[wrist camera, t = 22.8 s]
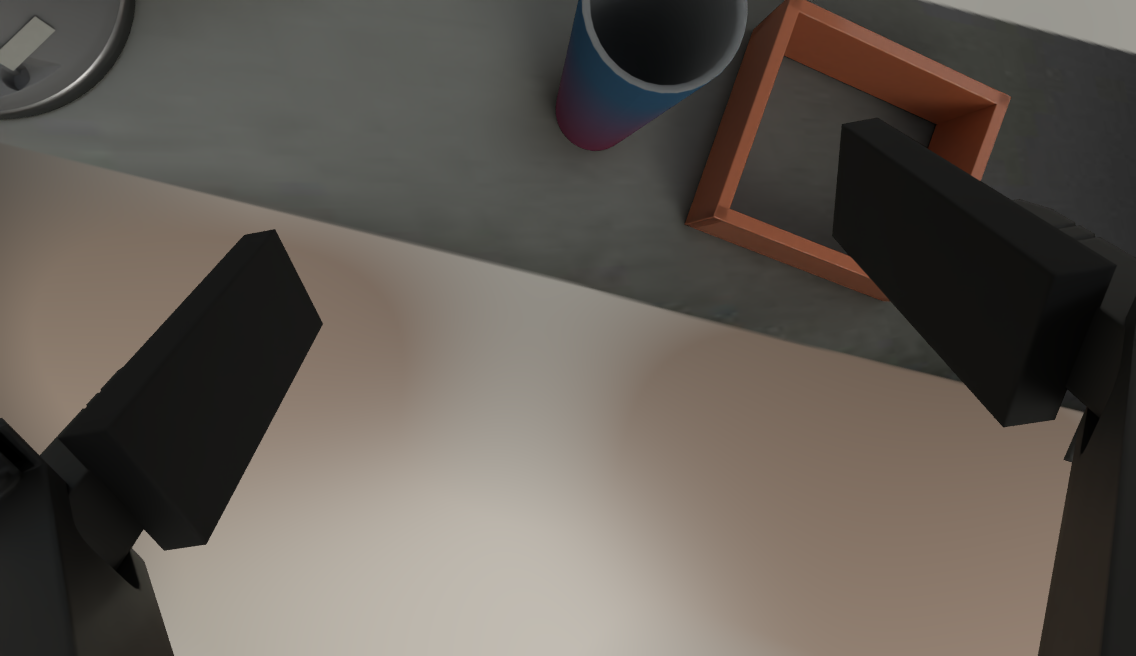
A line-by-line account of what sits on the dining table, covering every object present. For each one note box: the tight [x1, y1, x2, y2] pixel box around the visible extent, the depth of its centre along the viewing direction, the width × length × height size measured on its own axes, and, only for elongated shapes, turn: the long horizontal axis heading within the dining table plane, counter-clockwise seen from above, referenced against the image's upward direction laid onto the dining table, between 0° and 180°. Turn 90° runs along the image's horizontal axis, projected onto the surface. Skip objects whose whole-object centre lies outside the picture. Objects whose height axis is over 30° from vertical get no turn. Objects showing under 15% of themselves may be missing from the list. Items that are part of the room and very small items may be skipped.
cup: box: [556, 0, 748, 151], centre depth 31 cm, size 7×7×15 cm
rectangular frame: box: [685, 0, 1011, 301], centre depth 38 cm, size 16×14×5 cm
